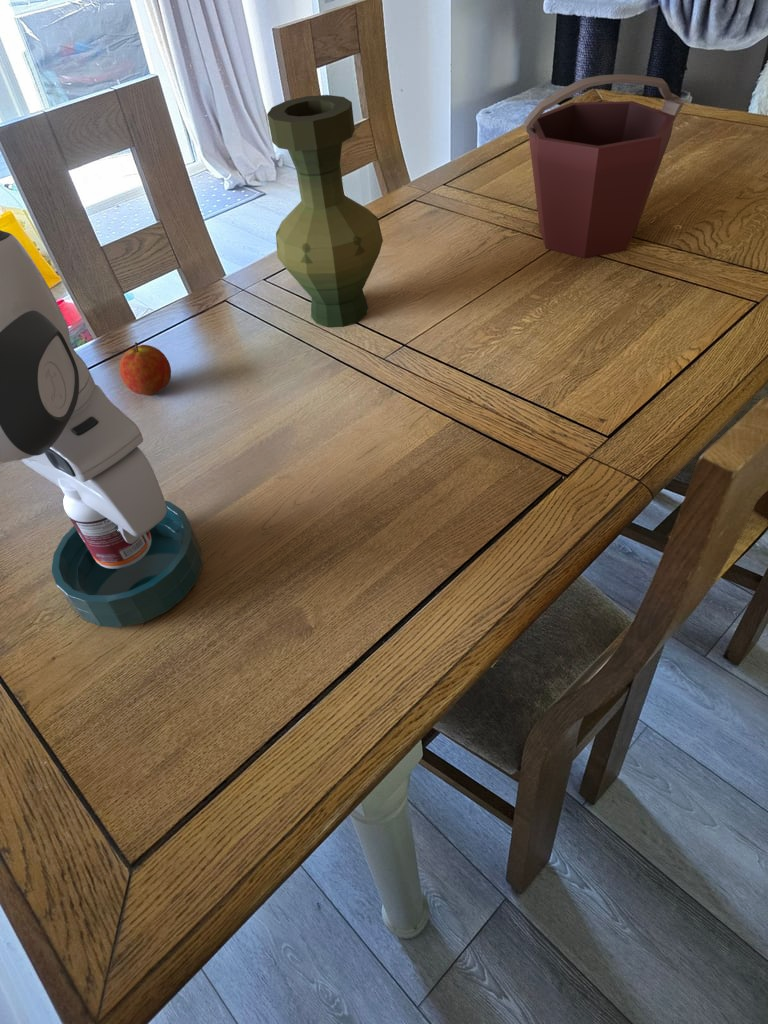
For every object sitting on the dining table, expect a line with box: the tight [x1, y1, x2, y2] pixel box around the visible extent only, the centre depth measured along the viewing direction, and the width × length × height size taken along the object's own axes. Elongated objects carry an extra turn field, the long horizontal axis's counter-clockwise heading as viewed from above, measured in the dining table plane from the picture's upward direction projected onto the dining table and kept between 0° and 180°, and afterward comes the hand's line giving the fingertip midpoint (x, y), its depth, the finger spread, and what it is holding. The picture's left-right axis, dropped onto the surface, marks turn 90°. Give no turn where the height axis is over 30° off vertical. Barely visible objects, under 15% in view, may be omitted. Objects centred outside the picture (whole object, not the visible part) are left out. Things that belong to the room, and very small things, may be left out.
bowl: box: [51, 500, 203, 628], centre depth 75 cm, size 15×15×5 cm
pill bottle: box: [58, 479, 151, 569], centre depth 70 cm, size 6×6×11 cm
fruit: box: [119, 342, 172, 397], centre depth 99 cm, size 7×7×8 cm
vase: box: [266, 94, 384, 328], centre depth 103 cm, size 16×16×30 cm
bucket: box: [523, 73, 685, 259], centre depth 115 cm, size 24×22×25 cm
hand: (110, 522), depth 71 cm, fingers closed on pill bottle, 6 cm apart
